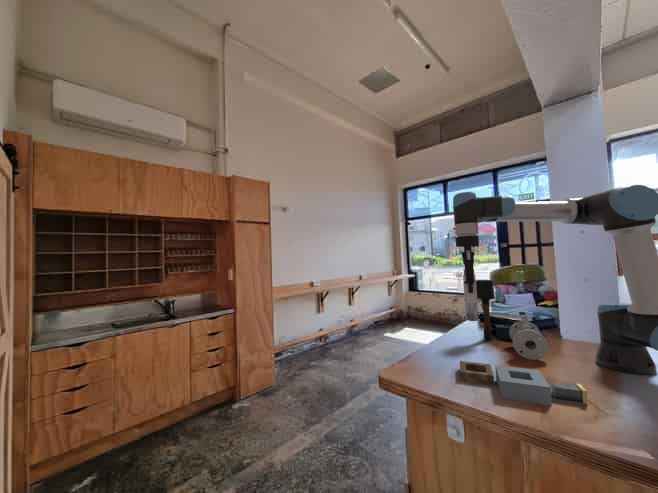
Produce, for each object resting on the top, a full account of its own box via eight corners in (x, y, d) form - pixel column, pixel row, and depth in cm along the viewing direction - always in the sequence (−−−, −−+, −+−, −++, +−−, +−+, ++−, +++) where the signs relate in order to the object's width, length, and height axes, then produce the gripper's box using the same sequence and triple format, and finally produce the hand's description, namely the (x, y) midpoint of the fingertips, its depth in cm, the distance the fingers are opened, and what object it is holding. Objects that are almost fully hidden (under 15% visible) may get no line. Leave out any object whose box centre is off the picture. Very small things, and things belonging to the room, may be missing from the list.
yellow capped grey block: (581, 399, 79) (580, 384, 80) (588, 407, 75) (586, 391, 76) (551, 395, 82) (550, 380, 83) (556, 402, 78) (555, 386, 79)
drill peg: (478, 318, 97) (474, 268, 98) (478, 321, 93) (475, 269, 94) (465, 318, 99) (462, 269, 100) (465, 320, 95) (462, 269, 96)
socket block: (572, 393, 83) (570, 373, 84) (589, 414, 72) (587, 392, 73) (496, 383, 92) (495, 365, 92) (501, 401, 81) (500, 380, 81)
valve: (550, 362, 107) (547, 323, 107) (514, 357, 113) (511, 321, 113) (539, 344, 126) (537, 312, 127) (509, 342, 132) (506, 311, 132)
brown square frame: (491, 375, 98) (490, 364, 98) (494, 388, 89) (493, 375, 89) (460, 371, 102) (459, 360, 102) (460, 383, 93) (460, 371, 93)
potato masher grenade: (501, 342, 131) (496, 280, 132) (481, 342, 133) (477, 281, 134) (494, 337, 139) (490, 279, 141) (476, 337, 141) (472, 279, 142)
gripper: (455, 237, 107) (459, 297, 106) (454, 235, 91) (459, 305, 90) (476, 236, 103) (481, 297, 102) (480, 233, 88) (485, 305, 87)
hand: (470, 300), depth 96 cm, fingers closed on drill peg, 4 cm apart
